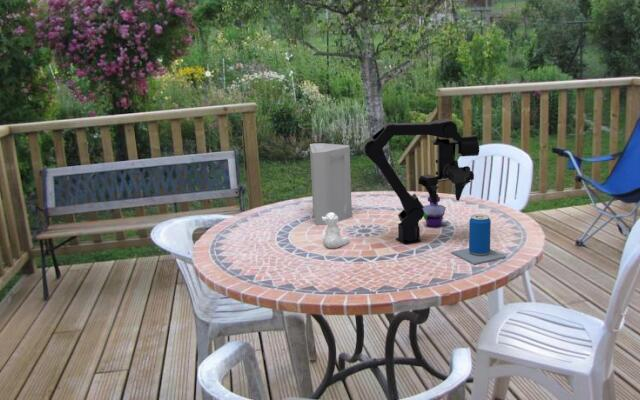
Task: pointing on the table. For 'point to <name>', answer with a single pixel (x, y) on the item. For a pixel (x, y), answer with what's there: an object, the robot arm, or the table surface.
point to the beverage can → (479, 234)
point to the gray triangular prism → (330, 181)
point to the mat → (477, 256)
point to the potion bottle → (433, 213)
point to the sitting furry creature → (333, 232)
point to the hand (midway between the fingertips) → (446, 202)
